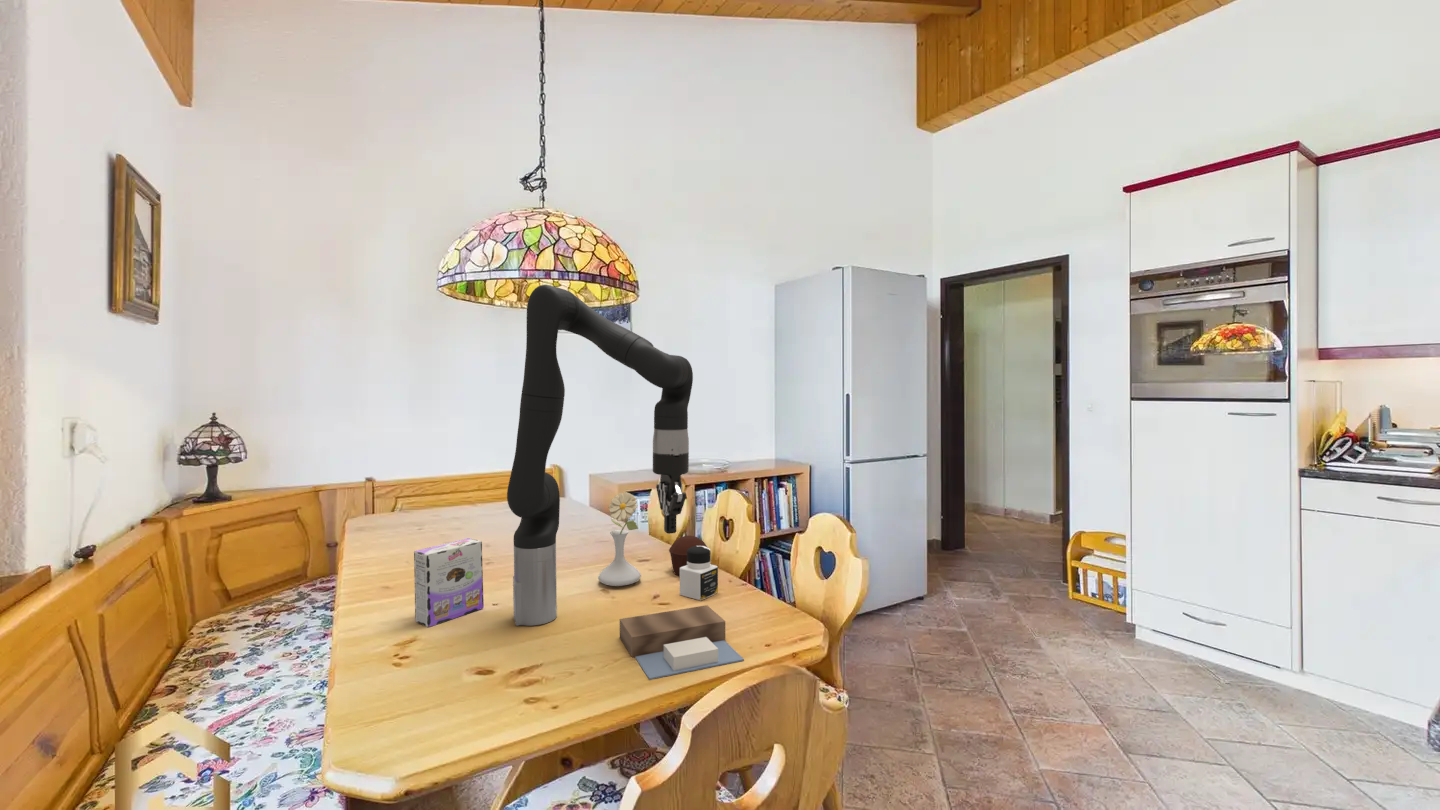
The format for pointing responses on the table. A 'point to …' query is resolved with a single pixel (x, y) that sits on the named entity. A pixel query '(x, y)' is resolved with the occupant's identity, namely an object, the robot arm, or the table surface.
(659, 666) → the mat
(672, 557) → the muffin
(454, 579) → the candy box
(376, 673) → the table surface
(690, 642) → the white eraser
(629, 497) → the flower in vase
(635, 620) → the wooden block
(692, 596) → the medicine bottle
